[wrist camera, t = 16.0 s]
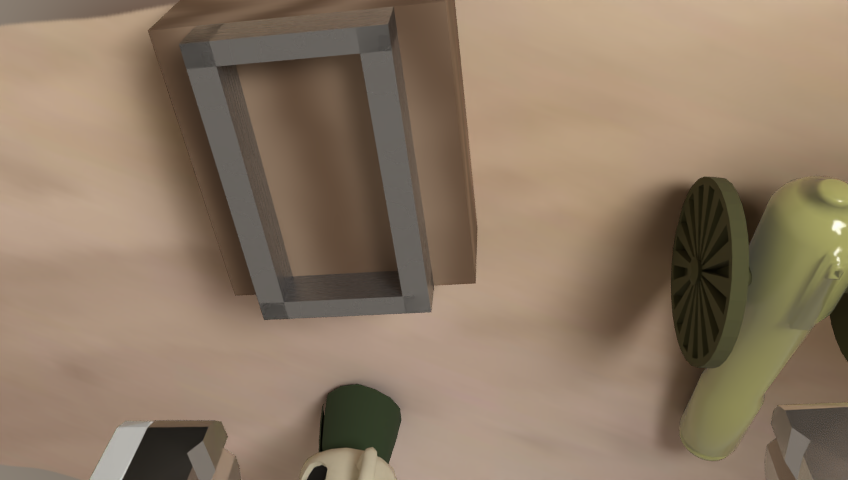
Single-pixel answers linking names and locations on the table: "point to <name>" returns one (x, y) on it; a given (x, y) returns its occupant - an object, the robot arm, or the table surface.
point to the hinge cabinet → (327, 148)
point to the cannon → (753, 296)
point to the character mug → (355, 436)
